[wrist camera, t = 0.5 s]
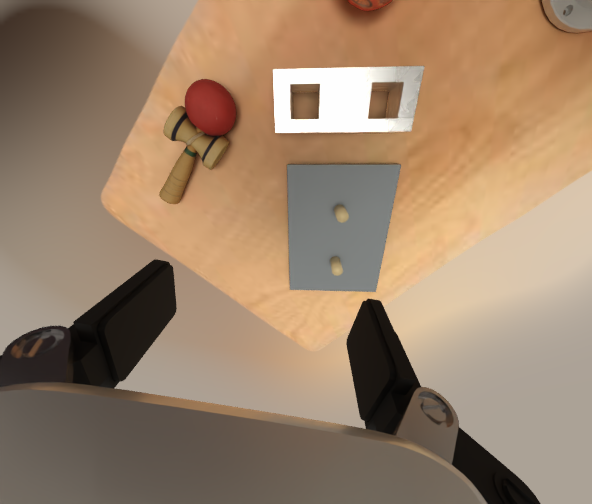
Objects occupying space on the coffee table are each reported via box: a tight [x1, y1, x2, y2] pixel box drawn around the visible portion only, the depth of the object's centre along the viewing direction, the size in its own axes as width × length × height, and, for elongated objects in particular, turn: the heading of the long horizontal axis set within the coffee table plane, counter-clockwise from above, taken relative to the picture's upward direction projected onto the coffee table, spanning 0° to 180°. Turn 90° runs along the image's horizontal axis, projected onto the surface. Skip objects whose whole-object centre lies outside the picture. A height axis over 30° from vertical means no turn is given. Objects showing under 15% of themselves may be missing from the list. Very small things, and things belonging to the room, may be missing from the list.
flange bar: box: [273, 66, 424, 134], centre depth 27 cm, size 16×6×5 cm, turn 90°
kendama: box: [160, 79, 236, 204], centre depth 30 cm, size 8×6×18 cm
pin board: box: [287, 164, 401, 292], centre depth 35 cm, size 16×22×5 cm
